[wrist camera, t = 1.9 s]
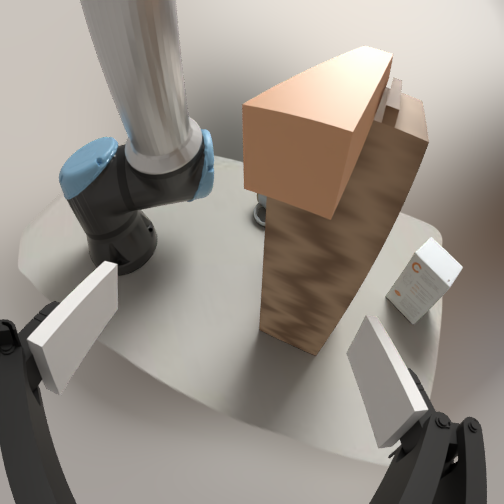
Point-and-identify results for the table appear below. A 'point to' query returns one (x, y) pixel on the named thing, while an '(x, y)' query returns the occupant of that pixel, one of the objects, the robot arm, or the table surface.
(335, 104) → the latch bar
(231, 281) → the table surface
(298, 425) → the table surface
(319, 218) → the post
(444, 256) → the small box
